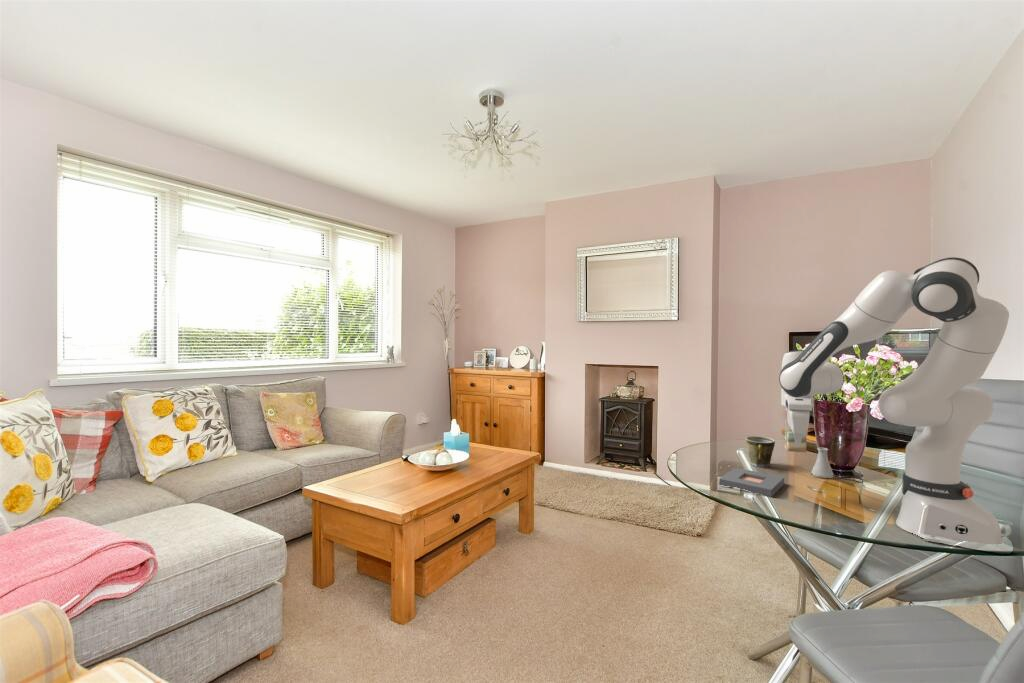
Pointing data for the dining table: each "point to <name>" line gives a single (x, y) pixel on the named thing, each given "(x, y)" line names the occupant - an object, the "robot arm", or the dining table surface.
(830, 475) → the flask
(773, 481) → the pocket plate
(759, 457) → the ceramic cup
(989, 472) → the dining table surface
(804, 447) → the faceted block
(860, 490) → the dining table surface
